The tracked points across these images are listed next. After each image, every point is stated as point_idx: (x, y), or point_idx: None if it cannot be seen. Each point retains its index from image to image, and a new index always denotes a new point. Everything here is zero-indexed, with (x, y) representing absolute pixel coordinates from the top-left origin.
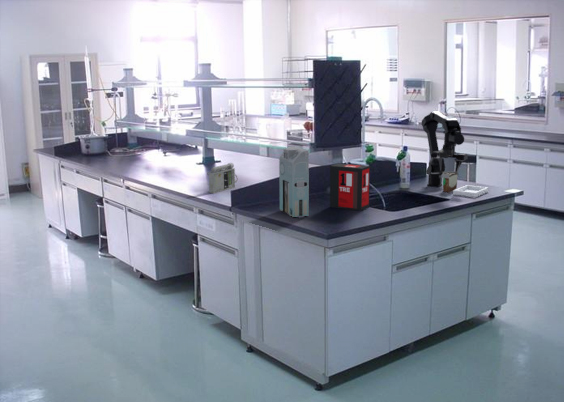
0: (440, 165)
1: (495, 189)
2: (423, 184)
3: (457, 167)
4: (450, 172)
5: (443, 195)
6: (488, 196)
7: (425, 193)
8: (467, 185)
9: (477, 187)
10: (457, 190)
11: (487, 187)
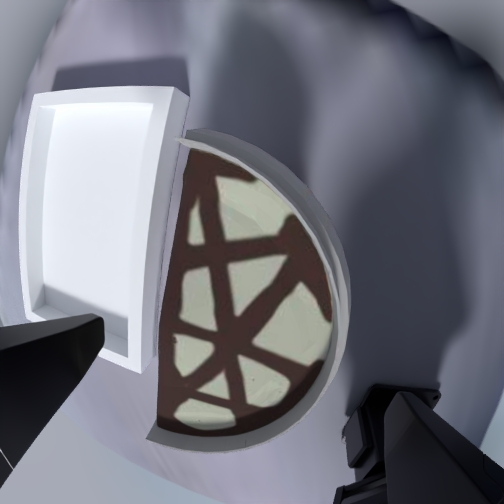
0: (416, 477)
1: None
2: (452, 412)
3: (10, 327)
4: (240, 437)
5: (260, 49)
6: (16, 184)
7: (419, 80)
8: (129, 359)
9: None
10: (138, 100)
11: (29, 318)
